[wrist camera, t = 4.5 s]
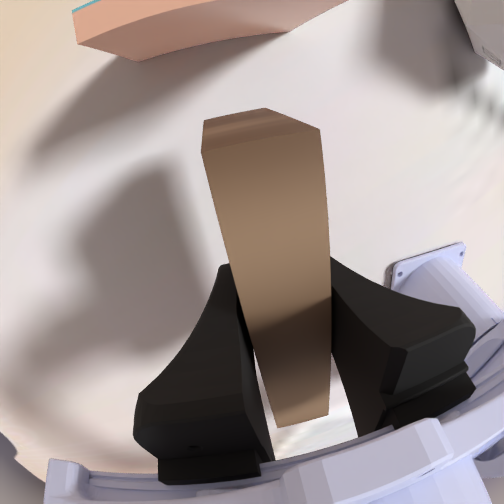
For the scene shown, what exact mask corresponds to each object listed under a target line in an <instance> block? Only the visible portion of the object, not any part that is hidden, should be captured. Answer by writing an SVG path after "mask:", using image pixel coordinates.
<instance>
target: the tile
mask: <svg viewBox="0 0 504 504" xmlns="http://www.w3.org/2000/svg"><path fill="white" fill-rule="evenodd" d="M346 1H348V0H94V1H92V2H89V3H87V4H85V5H83V6H80V7H78V8H76V9H74V10H72V14H73V21H74V27H75V33H76V39H77V44H79V45H83V46H86V47H90V48H94V49H98V50H101V51H105V52H108V53H111V54H115V55H118V56H121V57H124V58H127V59H130V60H133V61H136V62H140V61H143V60H146V59H149V58H152V57H156V56H159V55H163V54H166V53H170V52H173V51H177V50H181V49H185V48H189V47H193V46H197V45H202V44H207V43H211V42H216V41H222V40H227V39H233V38H239V37H246V36H253V35H261V34H270V33H280V32H290V31H292V30H293V29H295V28H297V27H299V26H300V25H302V24H304V23H305V22H307V21H309V20H311V19H313V18H314V17H316V16H318V15H320V14H322V13H324V12H326V11H328V10H330V9H332V8H333V7H335V6H337V5H340V4H342V3H344V2H346Z"/></svg>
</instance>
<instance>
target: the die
mask: <svg viewBox="0 0 504 504" xmlns="http://www.w3.org/2000/svg"><path fill="white" fill-rule="evenodd" d="M454 2H455V4H456V6H457V8H458V10H459V13H460V15H461V17H462V20H463V22H464V24H465V27H466V29H467V32H468V35H469V37H470V40H471V43H472V46H473V49H474V51H475V53H476V54H478V55H480V56H482V57H483V58H485V59H487V60H488V61H490V62H492V63H493V64H495V65H496V66H498V67H499V68H501V69H502V70H504V0H454Z"/></svg>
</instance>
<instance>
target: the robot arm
mask: <svg viewBox="0 0 504 504" xmlns="http://www.w3.org/2000/svg"><path fill="white" fill-rule="evenodd" d="M465 250H466V244H464V243H463V242H461V243H458V244H454V245H451V246H448V247H445V248H442V249H439V250H436V251H433V252H429V253H426V254H423V255H420V256H416V257H413V258H410V259H406V260H403V261H400V262H397V263H396V264H395V266H394V268H393V276H392V283H391V290H390V289H388V288H386V287H383V286H381V285H379V284H377V283H375V282H372V281H370V280H368V279H366V278H365V277H363V276H361V275H359V274H357V273H356V272H354V271H352V270H351V269H349V268H347V267H346V266H344V265H343V264H341V263H339V262H338V261H336V260H335V259H334V258H332V257H331V256H330V269H331V353H332V355H333V357H334V360H335V363H336V366H337V369H338V372H339V374H340V377H341V380H342V383H343V386H344V389H345V392H346V396H347V399H348V402H349V405H350V409H351V412H352V416H353V419H354V423H355V426H356V430H357V434H358V438H356V439H353V440H350V441H347V442H344V443H341V444H338V445H334V446H331V447H328V448H324V449H321V450H317V451H314V452H310V453H306V454H302V455H298V456H294V457H290V458H286V459H281V460H275V456H274V452H273V448H272V444H271V439H270V435H269V431H268V426H267V422H266V418H265V413H264V409H263V404H262V400H261V395H260V390H259V386H258V381H257V376H256V369H255V360H254V350H253V345H252V342H251V338H250V335H249V331H248V328H247V324H246V321H245V317H244V313H243V310H242V306H241V303H240V299H239V296H238V292H237V288H236V285H235V281H234V277H233V274H232V270H231V266H230V263H228V264H224V265H221V266H220V267H219V269H218V273H217V277H216V280H215V284H214V287H213V289H212V292H211V295H210V297H209V300H208V302H207V304H206V307H205V309H204V311H203V313H202V315H201V317H200V319H199V321H198V323H197V325H196V327H195V328H194V330H193V332H192V333H191V335H190V337H189V338H188V340H187V341H186V342H185V344H184V345H183V347H182V348H181V350H180V351H179V352H178V354H177V355H176V356H175V358H174V359H173V360H172V361H171V362H170V363H169V365H168V366H167V367H166V368H165V369H164V370H163V371H162V373H161V374H160V375H159V376H158V377H157V378H156V379H154V380H153V381H152V382H151V383H150V384H149V385H148V386H147V387H146V388H145V389H144V390H143V391H141V392H140V393H139V395H138V400H137V404H136V408H135V415H134V427H133V436H134V439H135V440H136V442H137V443H138V444H139V445H140V446H141V447H143V448H144V449H145V450H147V451H148V452H149V453H151V454H152V455H153V456H155V457H156V458H158V474H134V473H112V472H99V471H89V470H88V469H87V468H86V467H84V466H82V465H80V464H78V463H75V462H72V461H65V460H59V459H52V458H51V459H49V463H48V470H47V477H46V486H45V494H44V504H492V502H491V500H490V497H489V495H488V493H487V490H486V488H485V486H484V483H483V481H482V479H481V478H497V477H504V312H503V311H502V310H501V309H500V308H499V307H498V306H497V305H496V304H495V302H494V301H493V300H492V299H491V298H490V297H489V296H488V295H487V294H486V293H485V292H484V291H483V290H482V289H481V288H480V286H479V285H478V284H477V283H476V282H475V281H474V280H473V279H472V278H471V277H470V276H469V275H468V274H467V273H466V272H465V271H464V270H463V269H462V268H461V266H462V262H463V258H464V254H465ZM399 272H400V273H399ZM398 273H399V274H398Z"/></svg>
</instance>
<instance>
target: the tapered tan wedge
mask: <svg viewBox="0 0 504 504" xmlns="http://www.w3.org/2000/svg"><path fill="white" fill-rule="evenodd" d="M201 154H202V158H203V162H204V167H205V171H206V175H207V179H208V182H209V186H210V190H211V194H212V198H213V202H214V206H215V210H216V214H217V218H218V221H219V225H220V229H221V233H222V237H223V240H224V244H225V248H226V252H227V255H228V259H229V263H230V266H231V270H232V274H233V277H234V281H235V285H236V288H237V292H238V296H239V299H240V303H241V306H242V310H243V313H244V317H245V321H246V324H247V328H248V331H249V335H250V338H251V342H252V345H253V348H254V352H255V355H256V359H257V362H258V366H259V369H260V372H261V376H262V379H263V382H264V386H265V389H266V392H267V396H268V399H269V402H270V406H271V409H272V412H273V415H274V419H275V422H276V425H277V428H281V427H285V426H290V425H294V424H298V423H302V422H305V421H309V420H313V419H316V418H320V417H323V416H327V415H328V412H329V394H330V370H331V269H330V244H329V226H328V210H327V197H326V185H325V173H324V163H323V153H322V144H321V136H320V129H318V128H315V127H313V126H310V125H308V124H306V123H303V122H301V121H298V120H296V119H293V118H291V117H288V116H286V115H283V114H281V113H278V112H275V111H273V110H270V109H267V108H261V109H255V110H250V111H245V112H240V113H235V114H230V115H225V116H221V117H216V118H212V119H207V120H204V124H203V135H202V146H201Z"/></svg>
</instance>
